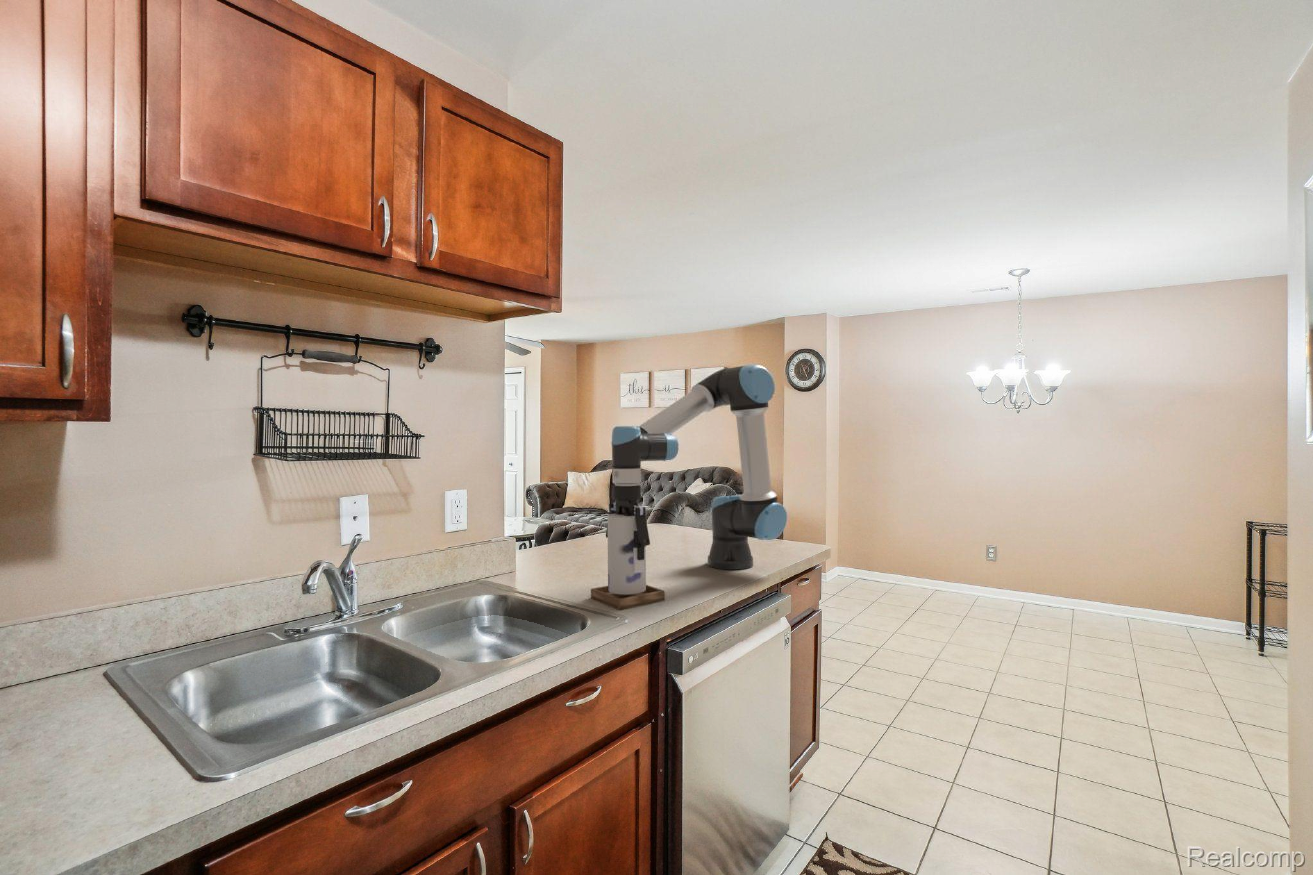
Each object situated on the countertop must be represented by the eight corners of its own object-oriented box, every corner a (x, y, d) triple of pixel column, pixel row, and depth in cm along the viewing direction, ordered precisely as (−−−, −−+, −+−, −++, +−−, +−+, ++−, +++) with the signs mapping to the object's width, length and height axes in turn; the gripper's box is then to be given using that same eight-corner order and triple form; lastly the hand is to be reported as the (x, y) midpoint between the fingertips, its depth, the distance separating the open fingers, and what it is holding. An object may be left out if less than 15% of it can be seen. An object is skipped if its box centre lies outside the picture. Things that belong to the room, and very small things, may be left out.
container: (629, 597, 150) (628, 518, 150) (600, 591, 157) (599, 515, 156) (653, 589, 158) (652, 513, 158) (624, 583, 164) (624, 511, 164)
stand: (634, 589, 167) (634, 580, 167) (664, 600, 156) (664, 590, 156) (591, 598, 159) (590, 588, 159) (619, 610, 148) (619, 599, 148)
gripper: (592, 482, 164) (592, 563, 164) (639, 488, 146) (640, 578, 146) (615, 481, 169) (615, 559, 169) (663, 486, 151) (664, 574, 151)
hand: (627, 568), depth 157 cm, fingers closed on container, 10 cm apart
